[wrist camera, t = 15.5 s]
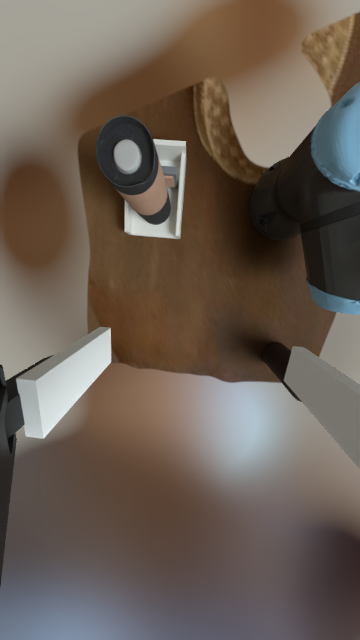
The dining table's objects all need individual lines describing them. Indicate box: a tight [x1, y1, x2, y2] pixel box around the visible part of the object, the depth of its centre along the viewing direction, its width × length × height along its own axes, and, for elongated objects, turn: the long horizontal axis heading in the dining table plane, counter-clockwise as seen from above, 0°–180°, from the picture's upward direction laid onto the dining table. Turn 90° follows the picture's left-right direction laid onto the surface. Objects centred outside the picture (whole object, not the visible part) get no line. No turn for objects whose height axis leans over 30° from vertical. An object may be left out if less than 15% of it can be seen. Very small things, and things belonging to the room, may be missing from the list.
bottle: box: [263, 343, 302, 402], centre depth 40 cm, size 7×7×20 cm
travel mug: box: [96, 115, 171, 225], centre depth 32 cm, size 8×8×20 cm
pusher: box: [161, 166, 178, 188], centre depth 37 cm, size 10×2×6 cm, turn 85°
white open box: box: [125, 139, 186, 239], centre depth 39 cm, size 12×16×6 cm
